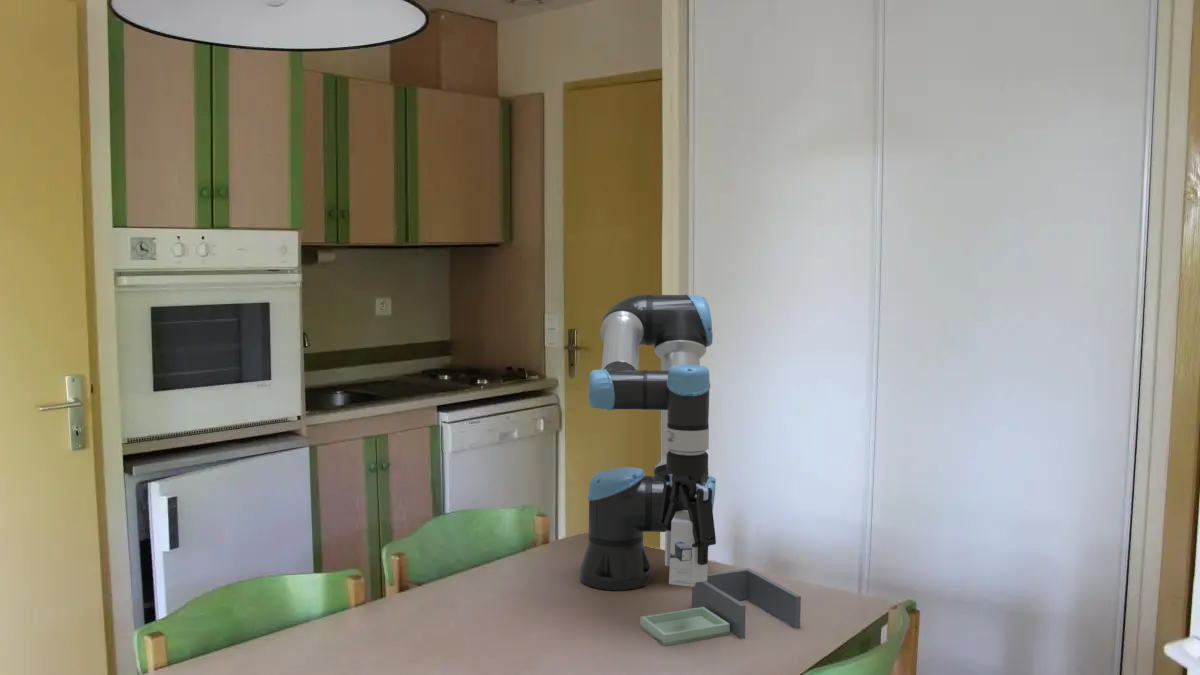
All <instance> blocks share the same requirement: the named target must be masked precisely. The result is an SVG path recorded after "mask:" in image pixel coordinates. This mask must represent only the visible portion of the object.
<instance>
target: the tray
mask: <svg viewBox="0 0 1200 675" xmlns="http://www.w3.org/2000/svg"><path fill="white" fill-rule="evenodd" d="M639 618H640V622H639V623H640V625H639V626H640V627H639V628H641V630H643V631H644V632H646V633H647V634H648V635H649V636H651V638H653V639H654V640H656V642H659V644H661V645H662V646H664V647H667V646H675V645H678V644H684V643H690V642H696V641H701V640H706V639H712V638H718V637H723V636H729V635H730V634H731V632H730V624H729V623H728V622H726V621H725V620H723V619H721V618H720V617H718V616H717V615H715V614H714V613H712V612H711V611H709V610H708V609H706V608H705V607H699V608H694V607H692V608H686V609H680V610H675V611H668V612H663V613H661V612H660V613H655V614H649V615H643V616H640V617H639Z"/></svg>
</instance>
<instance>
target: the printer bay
mask: <svg viewBox="0 0 1200 675" xmlns="http://www.w3.org/2000/svg"><path fill="white" fill-rule="evenodd" d="M746 600H747V602H749V603H752V604H753V605H755V606H756V607H758V608H759V609H762V610H763V609H764V612H767V613H768V612H769V614H770V613H771V616H773V615H774V616H773V617H775V618H777V619H779V620H780V621H782V622H783V623H785V622H786V624H787V625H789V626H790V625H791V626H790V627H792V628H793V629H795V628H796V629H800V628H801V608H802V607H801V606H802V602H801V601H802V596H801V595H799V594H797V593H796V592H794V591H792V590H790V589H788V588H786V587H785V586H782V585H781V584H780V583H776V581H773V580H771V579H769V578H767V577H766V576H764V575H762V574H760V573H758V572H756V571H755V570H753V569H751V568H741V569H735V570H734V569H733V570H727V571H721V572H713V573H707V581H702V582H696V584H695V586H694V587H692V586H691V607H692V608H699V607H705V608H706V609H708V610H709V611H711V612H712V613H714V614H715V615H717V616H718V617H720V618H721V619H723V620H725V621H726V622H728V623H729V624H730V634H732V635H734V636H736V637H737V638H739V639H740V640H741V639H745V638H746V611H747V610H746V608H747V606H746V604H744V603H742V602H741V601H746Z"/></svg>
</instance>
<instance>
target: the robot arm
mask: <svg viewBox="0 0 1200 675" xmlns="http://www.w3.org/2000/svg"><path fill="white" fill-rule="evenodd" d="M712 324H713V323H712V316H711V309H710V306H709V303H708V301H707V299H706V297H704V296H702V295H696V294H695V295H691V294H687V293H686V294H644V293H643V294H637V295H635V294H634V295H631V296H629V297H626V298H624V299H622V300H620V301H618V302H617V303H615V304H614V305H613V306H612V307H610V308H609V310H608V311H607V312H606V313H605V315H604V316H603V318H602V320H601V324H600V337H601V341H602V342H603V349H602V358H601V360H602V361H601V368H600V369H593V370H591V371H590V372H589V378H588V379H589V380H588V401H589V402H588V403H589V405H590V407H591V408H593V409H601V410H607V411H611V410H612V411H613V410H638V411H639V410H644V411H646V410H648V411H661V412H660V413H661V414H660V416H661V417H660V418H661V420H660V421H661V422H660V424H661V425H660V426H661V427H660V428H661V430H660V431H661V432H660V436H661V437H660V438H661V439H660V440H661V442H660V443H661V444H660V445H661V446H660V447H661V451H660V452H661V455H660V456H661V457H660V458H661V460H660V462H659V463H657V464H656V465H655V466H654V468H653V472H654V473H653V475H646V473H645V472H644V469H642V468H640V467H632V466H625V467H615V468H610V469H606V470H602V471H599V472H597V473H596V474H594V475H593V476H592V477H591V478H590V480H589V486H588V487H589V488H588V495H587V500H588V541H587V546H586V548H585V549H586V550H585V551H584V555H583V558H582V561H581V564H580V567H579V580H580V581H581V583H583V584H584V585H587V586H589V587H591V588H595V589H601V590H607V591H626V590H634V589H638V588H642V587H645V586H647V585H648V584H650V582H651V581H652V569H651V568H652V567H651V564H650V562H649V559H648V555H647V552H646V548H645V545H644V533H646V532H647V533H648V532H651V533H655V532H656V533H665V534H664V535H665V537H664V538H665V540H664V541H665V542H664V543H665V544H664V545H665V546H664V549H665V550H664V566H666V567H670V547H671V521H672V519H673V517H674V515H675V513H676V511H682V510H688V513H689V518H690V521H691V522H692V524H693V536H694V540H695V543H694V544H692V582H694V583H696V582H702V581H707V574H708V565H709V564H708V562H709V546H714V545H716V543H717V539H716V537H717V536H716V530H715V529H716V528H715V522H714V511H713V510H714V503H715V496H716V482H717V480H716V477H714V476H711V475H709V454H708V452H707V451H708V450H709V449H710V448H709V445H710V444H709V443H710V430H709V429H710V427H709V424H710V423H709V417H710V414H709V413H710V390H711V380H710V370H709V369H708V367H706V366H705V365H700V363H701V362H700V361H701V360H700V359H702V357H704V356H705V355H706V353H707V347H711V346H712V344H713V339H714V338H713V336H714V335H713V325H712ZM640 346H654V353H655V355H656V356H657V357H658V358H660V359H661V360H660V361H661V363H660V364H661V365H660V366H661V368H660V370H648V369H645V370H644V369H643V370H642V369H641V370H640V368H639V367H640V366H639V365H640V359H639V358H640Z"/></svg>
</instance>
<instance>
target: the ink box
mask: <svg viewBox="0 0 1200 675" xmlns="http://www.w3.org/2000/svg"><path fill="white" fill-rule="evenodd" d="M694 543H695V540H694V536H693V524H692V522H691V521H690V518H689V513H688V510H682V511H676V513H675V515H674V517H673V519H672V521H671V547H670V566H669V575H668V584H669V585H674V586H684V587H691V588H692V587H694V586H695V584H696V583H694V582H692V544H694Z"/></svg>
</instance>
